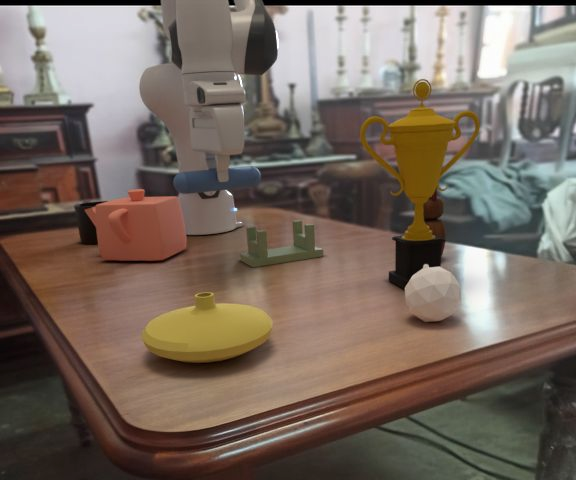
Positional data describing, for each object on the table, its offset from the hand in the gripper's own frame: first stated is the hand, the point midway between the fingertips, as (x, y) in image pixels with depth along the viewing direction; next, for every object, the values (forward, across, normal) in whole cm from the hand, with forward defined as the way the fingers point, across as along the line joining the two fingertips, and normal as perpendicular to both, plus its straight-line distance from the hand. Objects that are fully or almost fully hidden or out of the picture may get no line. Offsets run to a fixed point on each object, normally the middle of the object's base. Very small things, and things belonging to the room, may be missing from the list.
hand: (218, 180), depth 102 cm
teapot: (+17, -26, -12) cm, 34 cm away
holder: (+17, -5, +13) cm, 22 cm away
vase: (+16, +36, -14) cm, 42 cm away
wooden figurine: (+16, +13, +35) cm, 41 cm away
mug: (+18, -52, -16) cm, 57 cm away
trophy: (+16, +25, +24) cm, 39 cm away
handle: (+2, 0, 0) cm, 2 cm away
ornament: (+16, +41, +16) cm, 47 cm away
